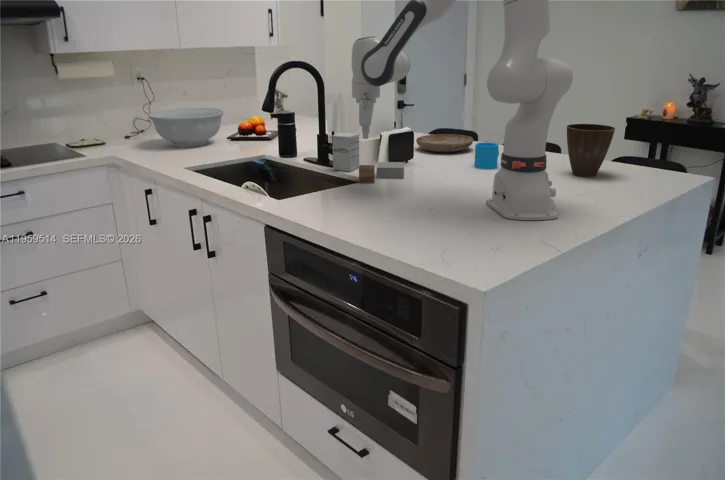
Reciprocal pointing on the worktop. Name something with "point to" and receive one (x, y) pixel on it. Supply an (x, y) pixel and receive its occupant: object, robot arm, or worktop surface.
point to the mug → (486, 155)
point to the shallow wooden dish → (444, 142)
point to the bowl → (187, 125)
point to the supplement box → (345, 151)
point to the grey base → (390, 170)
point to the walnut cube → (366, 173)
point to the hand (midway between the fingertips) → (366, 135)
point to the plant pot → (588, 147)
